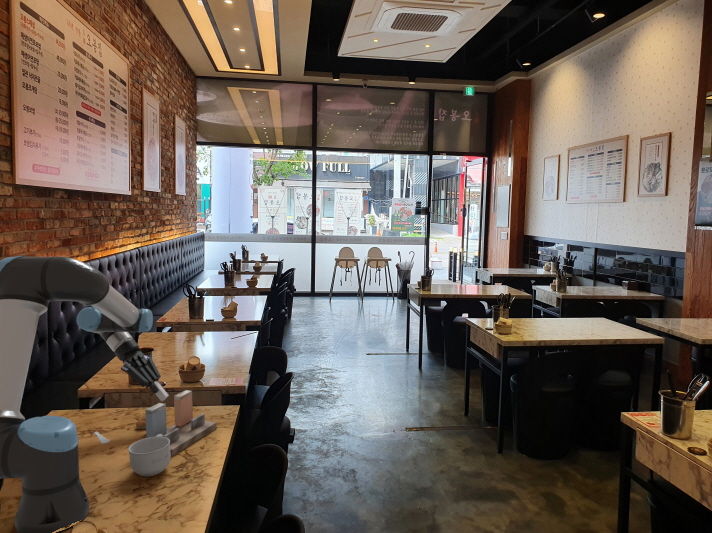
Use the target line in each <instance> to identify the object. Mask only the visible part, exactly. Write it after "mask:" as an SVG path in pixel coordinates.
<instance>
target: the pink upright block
mask: <svg viewBox="0 0 712 533" xmlns="http://www.w3.org/2000/svg"><path fill="white" fill-rule="evenodd" d="M173 404H174V407H173V408H174V424H175V426H183V425H185V424H187V423H188V422H190V421H191V420H192V419H194V417H193V416H194V414H193V411H194V409H193V408H194V407H193V390H187V389H186V390H184V391H181V392H179V393H177V394H175V395H174V396H173Z"/></svg>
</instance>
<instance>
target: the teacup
mask: <svg viewBox="0 0 712 533" xmlns="http://www.w3.org/2000/svg"><path fill="white" fill-rule="evenodd" d="M127 450H128V454H129V462H130V466H131V469H132V471H133V472H134V473H135V474H138V475H139V476H141V477H152V476H153V477H154V476H156V475H159V474H160V473H162V472H164V470H165V469H166V468H167V467H168V466H169V465H170V462H171V457H172V456H171V453H170V440H169V439H168V438H166V437H163V435H162V434H158V435H157V436H156V437H149V438H147V437H145V438H141V439H139V440H137V441H134V442H133V443H131V444H130V445H129V446H128V448H127Z"/></svg>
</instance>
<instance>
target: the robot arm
mask: <svg viewBox="0 0 712 533" xmlns="http://www.w3.org/2000/svg"><path fill="white" fill-rule="evenodd" d="M50 302H77V303H79V304H81V305H83V306H87V307H84V308H82V309H81V310H80V311H79V312H78V313H77V316H76V324H77V326H78V327H79V328H80V329H81V330H84V331H86V332H91V333H95V334H98V335H100V337H101V338H102V339H103V340H104V342H105V343H106V345H108V346H109V348H110V349H111V350H112V352H114V355H115V356H116V357H117V359H118V360H119V361H121V362H122V363H123V365H122V366H121V367H120V371H123V373H126V374H127V375H128V376H130V378H132V379H133V380H134V381H135V382H136V383H138V385H139V386H140V387H141V388H145V389H148V388H149V390H150V391H151V392H152V393H153V394H155V396H156V397H157V398H158V399H159V401H160V403H161V402H162V403H163V402H164V401H166V399H167V398H168V397H169V396H170V395H169V393H168V392H167V391H166V390H165V389H164V386H163V385H162V384H161V382H160V381H159V380H160V378H161V373H160V371H159V370H158V368H157V366H156V364H155V362H154V360H153V356H152V355H151V354H148V355H145V354H144V353H143V352H142V351H141V350H140V346H139V344H138V343H137V342H136V340H135V339H133V336H132V335H131V334H130V333H143V332H144V333H145V332H149V331H150V330H151V329H152V327H153V323H154V315H153V312H152V310H150V309H149V308H138V307H136V306H135V305H134V304H133V303H131V302H130V301H129V300H128V299H127V298H126V297H125V296H124V295H123V294H121V293H120V292H119V291H118V290H117V289H116V288H114V287H113V286H112V285H111V284H110V280H109V278H108V277H107V276H106V275H104V273H102V272H101V271H100V270H98V269H97V268H95V267H93V266H91V265H90V264H88V263H85V262H84V261H81V260H78V259H76V258H72V257H68V256H26V255H19V256H10V257H9V256H8V257H5V258H3V259H1V260H0V479H1V480H2V479H21V488H22V493H21V496H20V497H21V498H20V499H19V500H20V501H19V504H18V509H17V511H16V513H15V516H14V527H15V531H16V532H17V533H52V532H54V531H56V530H58V529H60V528H63V527H66V526H68V525H71V524H72V523H75V522H77V521H80V520H82V521H83V520H84V519H86V517H87V516H88V514H89V513H90V501H89V498H88V496H87V493H86V491H85V488H84V486H83V484H82V482H81V479H80V463H79V437H78V431H77V426H76V424H75V423H74V422H73V421H72V420H71V419H70V418H67V417H64V416H58V415H43V416H35V417H31V418H28V419H26V418H25V416H24V415H23V414H22V413H21V405H22V399H23V397H24V396H23V395H24V391H25V390H24V389H25V386H26V380H27V376H28V372H29V368H30V367H29V366H30V363H31V356H32V354H33V353H32V352H33V347H34V344H35V337H36V333H37V328H38V323H39V319H40V316H41V315H43V314H45V313H46V312H47V311H48V308H49V305H50V304H49V303H50ZM89 306H91V307H89Z"/></svg>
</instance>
